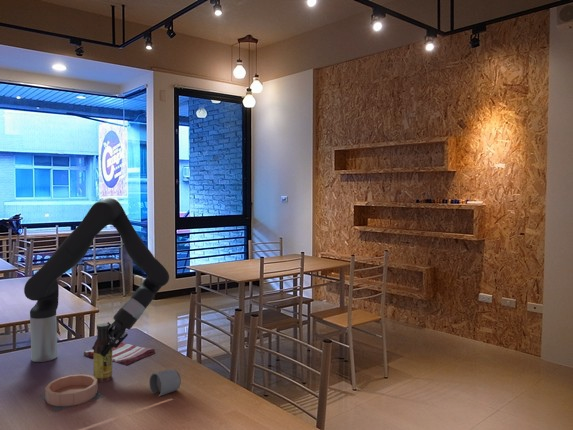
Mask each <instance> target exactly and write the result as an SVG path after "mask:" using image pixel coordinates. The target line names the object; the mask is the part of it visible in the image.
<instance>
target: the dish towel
mask: <svg viewBox="0 0 573 430" xmlns="http://www.w3.org/2000/svg"><path fill="white" fill-rule="evenodd" d="M117 343H118V342H116V344H117ZM155 352H156V349H154V348H148V347H142V346H137V345H133V344H129V343H125V342H123V341H122V342H121V343H120V345H119V346H118V347H117V348H115V347H114V348H112V363H113V362H115V363H118V364H122V365H124V366H128V365H129V364H131V363H132V364H133V363H134V362H136V361H139V360H141V359H143V358H145V357H148V356H149V355H153V354H155ZM83 355H84V356H86V357H88V358H92V359H94V350H93V349H92V348H91V349H90V350H85V351H84V352H83Z"/></svg>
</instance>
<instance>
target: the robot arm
mask: <svg viewBox="0 0 573 430" xmlns="http://www.w3.org/2000/svg"><path fill="white" fill-rule="evenodd" d="M110 224H111V225H112V226H113V228H114V229H115V230H116V231H117V233H118V234H119V236H120V238H121V240H122V243H123V245H124V249H125V252H126V253H127V254H128V256H129V258H130V259H131V260H132V261H133V263H134V264H135V265H136V267H138V269H141V270H142V271H143V272H144V273H145V275H146V277H145V278H144V280H143V281H142V282H141V284H140V286H139V287H138V288H137V289H136V290H135V291H134V292H133V293H132V294H131V296H130V297H129V298H128V299H127V300H126V301H125V302H124V303H123V305H122V306H121V307H120V308H119V309H118V311H116V313H115V314H114V316H113V318H112V319H113V320H114V321H113V322H112V323H110V322H109V321H108V322H106V323H107V324H109V341H108V343H107V344H106V345H105V347H104V348H103V349H102V350H101V352H100V355H102V356H103V357H105V356H106V355H107V353H108V352H109V351H110V350H111V348H114V347H115V348H117V347H118V346H119V345H120V343H121V342H122V343H123V341H124V340H125V339H126V338H127V337H128V335H129V334H128V333H127V332H126V330H131V329H132V328H133V327H134V326H135V324H136V323H137V321H138V320H139V319H140V318H141V317H142V315H143V314H144V312H145V310H146V309H147V307H149V305H150V304H151V303H152V301H153V300H154V297H155V296H156V294H158V292H159V291H160V289H162V287H164V286H165V285H167V284H168V283H169V280H170V274H169V272H168V270H167V269H166V268H165V266H164V265H163V264H162V263H161V262H160V261H159V259H157V258H156V257H155V256H154V255H153V253H152V252H151V251H150V250H149V248H148V247H147V245H146V244H145V243H144V241H143V240H142V238H141V237H140V236H139V235H138V233H137V231H136V229H135V228H134V226H133V224H132V222H131V221H130V219H129V218H128V216H127V214H126V212H125V210H124V208H123V206H122V205H121V203H120V202H119V201H118V200H117V199H115V198H111V197H110V198H104V199H102V200H99V201H96V202H95V203H94V204H93V205H91V207H90V208H89V210H88V211H87V213H86V214H85V216H84V218H83V219H82V220H81V222H80V223H79V225H78V226H77V227H75V229H74V230H72V231H71V233H70V234H69V235H68V236H66V238H65V239H64V240H63V242H62V243H61V244H60V245H59V246H58V248H56V250H55V251H54V252H53V253H52V255H51V256H50V257H49V258H48V260H47V261H45V263H44V264H43V265H42V266H41V267H40V268H39V270H37V271H36V272H35V273H34V274H33V275H32V276H30V278H29V279H28V280H27V281H26V283H25V284H24V286H23V292H24V293H23V294H24V295H25V298H27V299H28V300H30V301H36V302H35V304H34V305H33V307H31V309H30V310H29V320H30V321H29V322H30V323H29V324H30V325H29V326H30V356H31V358H30V359H31V361H32V362H34V363H35V362H36V363H43V362H49V361H52V360H56V358H58V334H57V333H58V328H57V327H58V326H57V323H58V322H57V309H58V307H59V297H60V296H59V293H60V292H59V291H60V290H59V282H58V278H60V277H61V276H62V275H64V274H65V273H67V272H68V271H70V270H71V269H73V268H74V267H75V266H76V265H77V264H79V263H80V261H81V260H83V259H84V257H85V255H87V253H88V252H89V250H90V249H91V246H92V243H93V241H94V239H95V238H96V237H97V235H98V234H99V233H100V232H101V231H102V230H103V229H105V228H106V227H107V226H108V225H110ZM116 342H118V343H117V344H116ZM92 349H93V350H94V345H93V346H92V348H91V350H92Z"/></svg>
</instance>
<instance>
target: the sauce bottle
mask: <svg viewBox="0 0 573 430" xmlns="http://www.w3.org/2000/svg"><path fill="white" fill-rule="evenodd" d="M107 323H108V322H106V323H98V324H97V325H96V330H97V336H96V337H97V338H96V339H95V341H94V343H93V346H94V358H93V376H94V377H95V378H96V379H97V381H98V383H104V382H108V381H110V380H111V379H112V378H113V361H112V348H111V350H110V351H109V352H108V353H107V355H106V356H105V357H103V356H102V355H100V352H101V350H102V349H103V348H104V347H105V345H106V344H107V343H108V341H109V324H107Z"/></svg>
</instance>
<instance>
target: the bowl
mask: <svg viewBox="0 0 573 430" xmlns="http://www.w3.org/2000/svg"><path fill="white" fill-rule="evenodd" d="M98 384H99V382H98V381H97V379H96V378H95V377H94V375H91V374H82V373H81V374H71V375H66V376H63V377H58V378H56V379H54V380H52V381H51V382H48V383H47V385H46V387H45V388H44V389H45V392H44V394H45V399H46V401H47V402H46V401H45V402H46V403H47V404H48V405H49V404H50V405H52V406H57V407H67V406H72V407H75V406H74V405H76V406H79V405H82V404H86V403H88V402H87V401H89V400H91V399H92V398H94V397H95V396H96V394H97V391H98ZM85 402H86V403H85ZM89 402H90V401H89ZM78 404H79V405H78ZM50 405H49V406H50Z"/></svg>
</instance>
